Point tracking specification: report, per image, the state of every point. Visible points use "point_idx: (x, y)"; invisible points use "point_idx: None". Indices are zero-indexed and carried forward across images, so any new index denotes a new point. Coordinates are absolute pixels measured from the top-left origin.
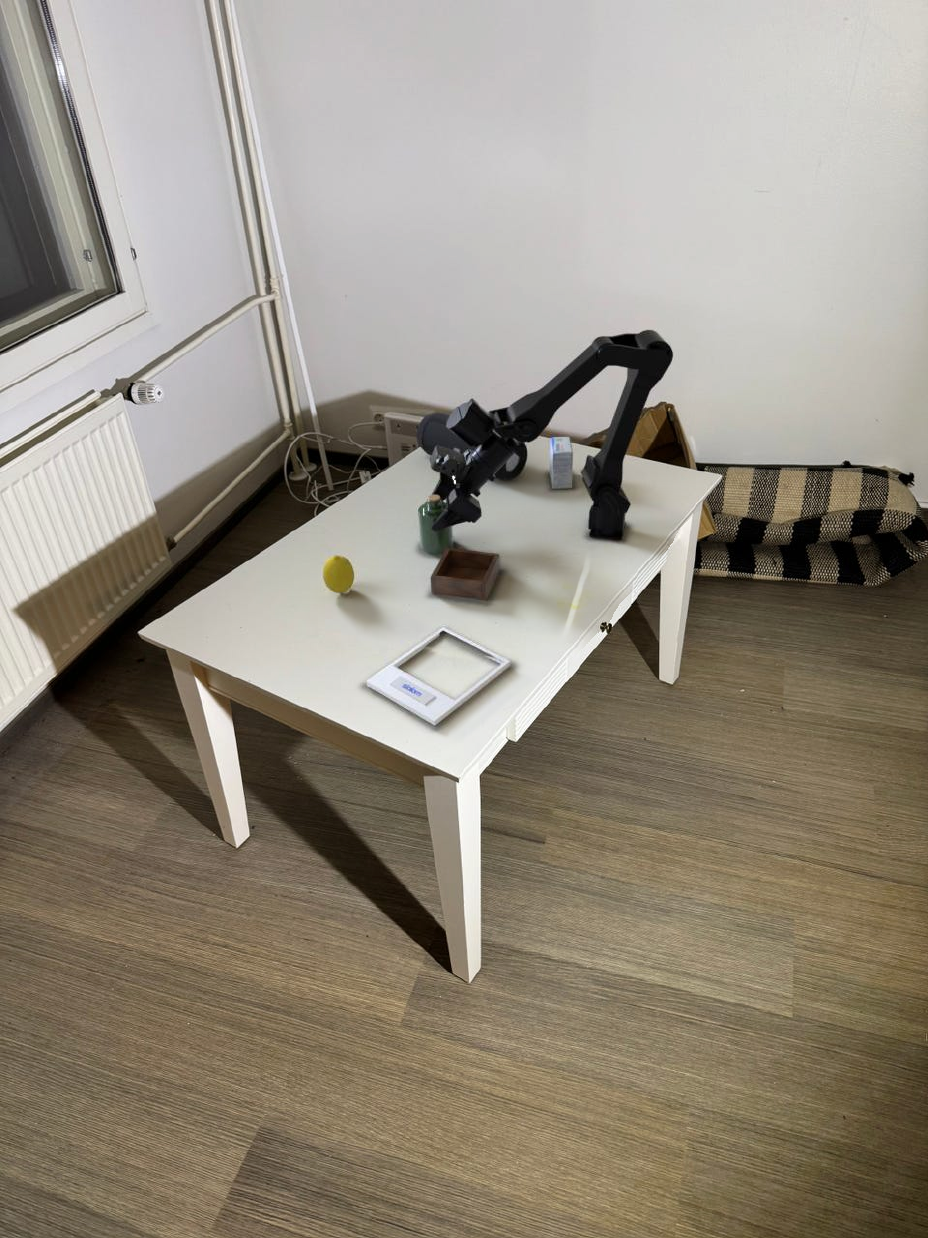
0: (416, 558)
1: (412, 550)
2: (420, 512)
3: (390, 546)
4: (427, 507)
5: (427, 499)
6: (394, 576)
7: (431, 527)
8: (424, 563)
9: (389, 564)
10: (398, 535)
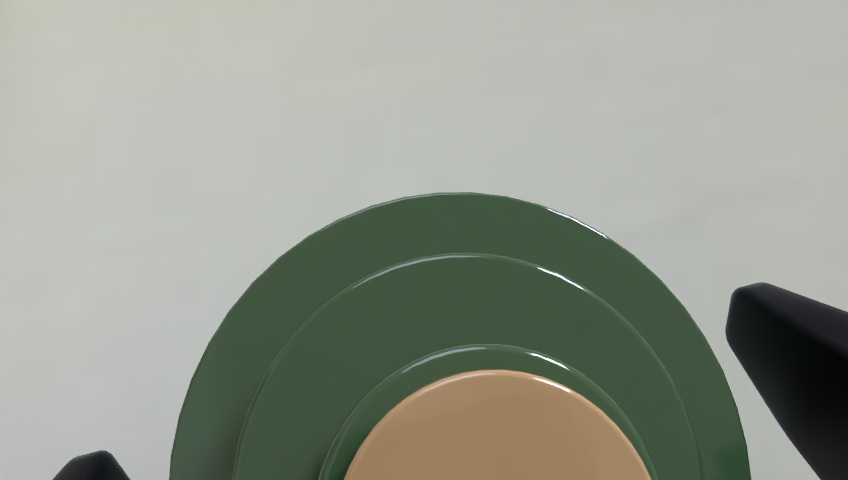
0: None
1: None
2: (347, 242)
3: (426, 80)
4: (389, 353)
5: (466, 347)
6: (51, 165)
7: (93, 453)
8: None
9: (201, 110)
10: (571, 108)
